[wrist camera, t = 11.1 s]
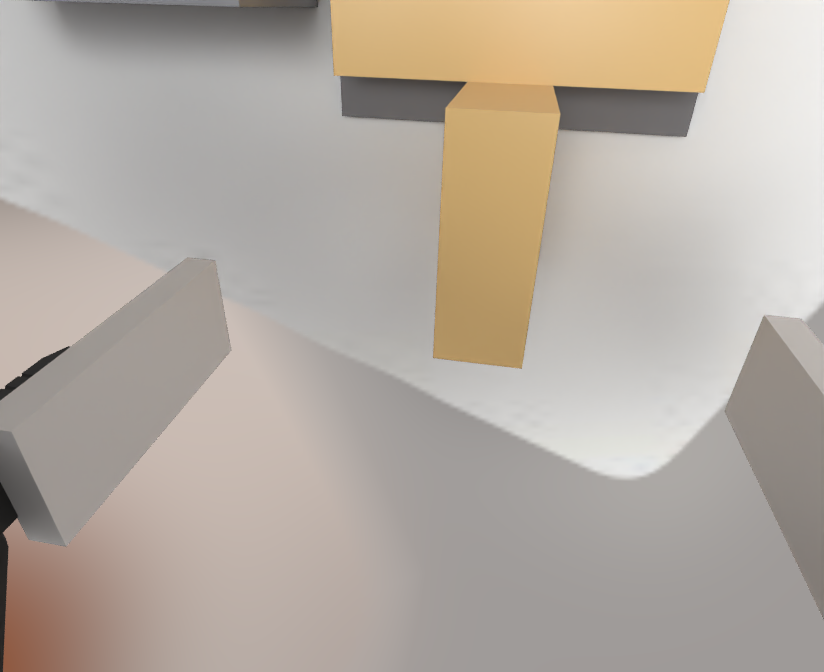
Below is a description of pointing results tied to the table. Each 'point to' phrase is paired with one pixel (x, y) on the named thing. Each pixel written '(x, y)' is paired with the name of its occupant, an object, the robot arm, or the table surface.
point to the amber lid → (513, 124)
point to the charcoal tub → (212, 2)
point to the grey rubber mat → (575, 103)
